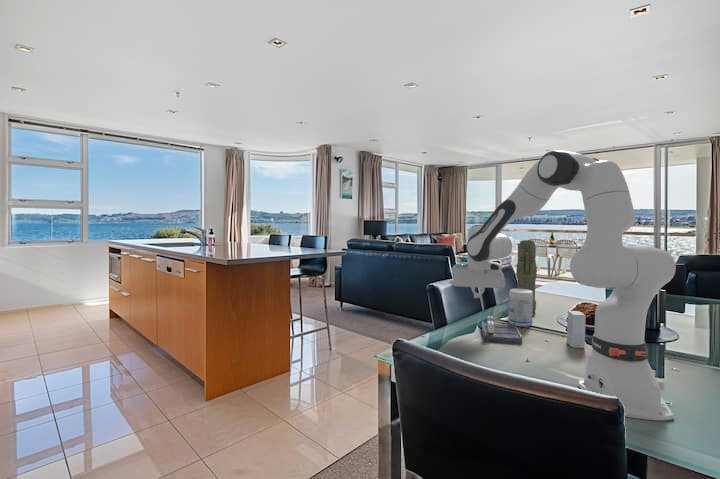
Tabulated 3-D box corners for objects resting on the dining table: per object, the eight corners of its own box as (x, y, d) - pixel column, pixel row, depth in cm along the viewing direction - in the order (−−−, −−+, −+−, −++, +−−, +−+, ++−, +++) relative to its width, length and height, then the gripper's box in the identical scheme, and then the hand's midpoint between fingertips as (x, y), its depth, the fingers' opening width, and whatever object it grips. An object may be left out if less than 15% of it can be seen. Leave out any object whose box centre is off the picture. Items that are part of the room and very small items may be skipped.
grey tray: (522, 343, 139) (522, 337, 138) (484, 341, 142) (485, 334, 142) (514, 329, 156) (514, 323, 156) (481, 327, 159) (481, 321, 159)
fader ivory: (493, 333, 144) (493, 323, 144) (488, 332, 144) (488, 322, 144) (492, 330, 147) (493, 320, 147) (487, 329, 148) (487, 320, 148)
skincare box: (585, 348, 134) (586, 315, 133) (571, 347, 134) (573, 314, 134) (578, 342, 139) (579, 310, 139) (566, 342, 140) (567, 310, 140)
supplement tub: (504, 321, 168) (504, 288, 167) (523, 320, 169) (524, 287, 168) (516, 327, 158) (517, 293, 157) (537, 326, 160) (537, 292, 159)
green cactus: (517, 316, 176) (519, 241, 174) (513, 309, 188) (515, 239, 185) (538, 317, 174) (540, 241, 172) (532, 310, 186) (534, 239, 183)
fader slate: (493, 327, 151) (493, 317, 151) (488, 326, 152) (488, 317, 152) (492, 324, 155) (492, 315, 155) (487, 324, 155) (487, 315, 155)
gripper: (452, 264, 153) (451, 298, 154) (505, 266, 148) (504, 301, 149) (452, 262, 159) (451, 294, 160) (503, 264, 154) (503, 297, 155)
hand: (477, 297), depth 154 cm, fingers closed
